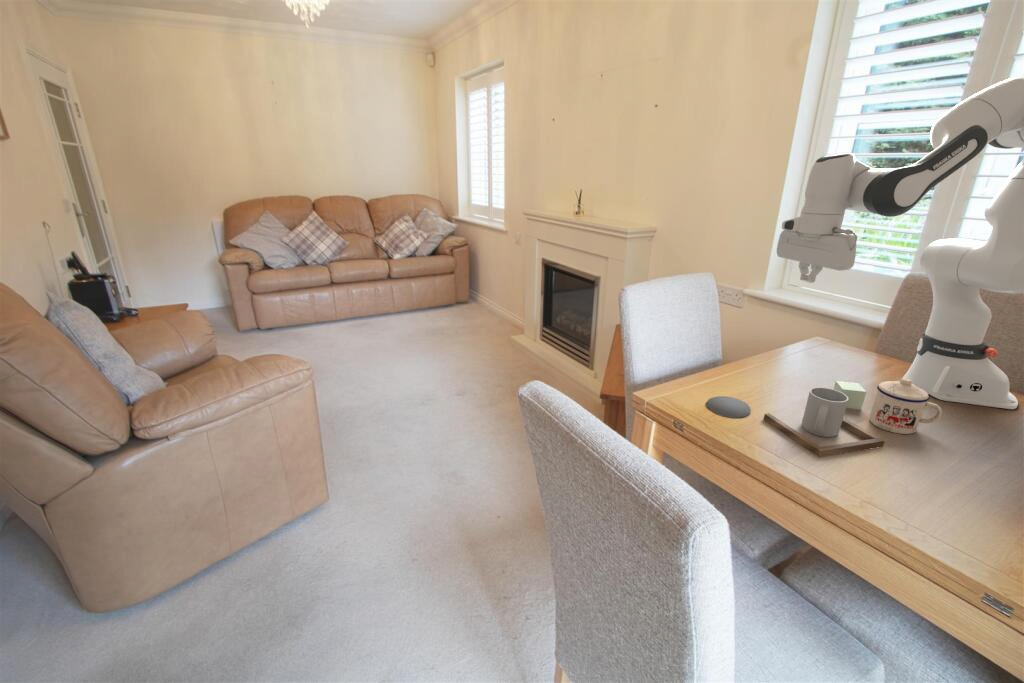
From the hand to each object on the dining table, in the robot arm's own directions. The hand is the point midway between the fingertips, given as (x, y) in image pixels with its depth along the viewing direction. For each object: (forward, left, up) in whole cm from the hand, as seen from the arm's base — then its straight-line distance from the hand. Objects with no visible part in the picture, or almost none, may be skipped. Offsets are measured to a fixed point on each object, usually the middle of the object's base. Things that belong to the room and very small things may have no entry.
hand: (807, 281), depth 116 cm
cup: (-8, +23, -29) cm, 38 cm away
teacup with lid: (-24, +11, -29) cm, 39 cm away
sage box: (-14, +4, -29) cm, 33 cm away
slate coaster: (+11, +22, -29) cm, 38 cm away
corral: (-8, +23, -29) cm, 38 cm away
